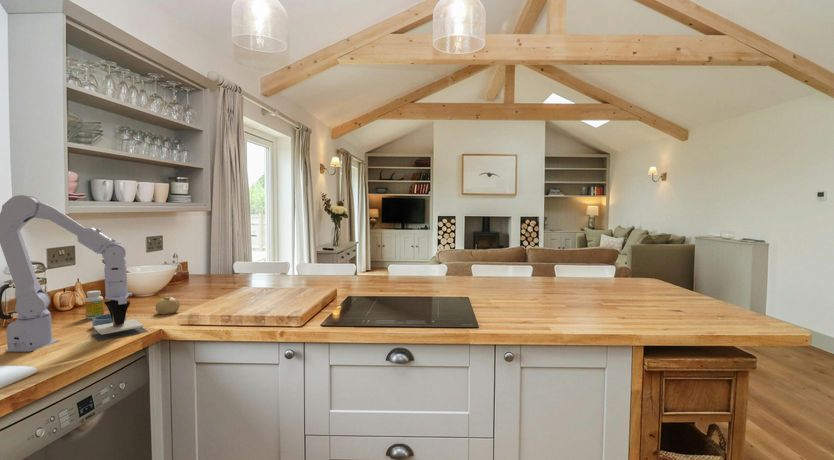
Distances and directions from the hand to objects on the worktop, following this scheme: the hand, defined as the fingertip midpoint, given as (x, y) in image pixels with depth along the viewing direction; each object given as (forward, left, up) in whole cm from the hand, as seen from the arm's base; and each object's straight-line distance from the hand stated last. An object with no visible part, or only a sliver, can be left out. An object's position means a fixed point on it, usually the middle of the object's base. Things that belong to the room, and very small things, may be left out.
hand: (118, 323), depth 135 cm
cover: (0, 0, -1) cm, 1 cm away
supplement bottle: (+20, +26, -4) cm, 33 cm away
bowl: (+8, +10, -3) cm, 13 cm away
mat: (0, 0, -3) cm, 3 cm away
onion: (+25, +1, -4) cm, 25 cm away
